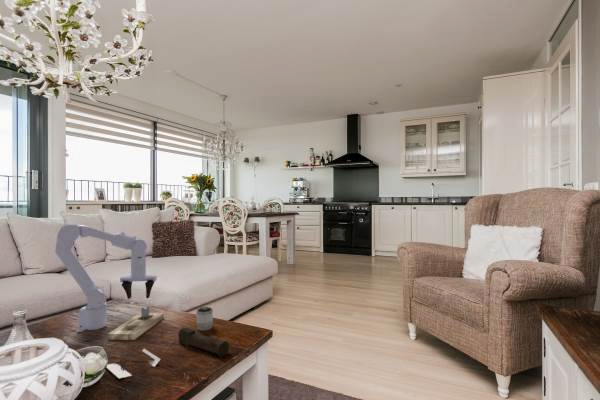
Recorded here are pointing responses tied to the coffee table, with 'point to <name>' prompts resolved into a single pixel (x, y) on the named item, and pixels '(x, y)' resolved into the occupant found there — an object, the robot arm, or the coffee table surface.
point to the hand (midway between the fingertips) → (138, 297)
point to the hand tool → (203, 342)
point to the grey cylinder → (145, 313)
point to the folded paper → (120, 371)
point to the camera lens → (204, 318)
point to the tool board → (135, 327)
